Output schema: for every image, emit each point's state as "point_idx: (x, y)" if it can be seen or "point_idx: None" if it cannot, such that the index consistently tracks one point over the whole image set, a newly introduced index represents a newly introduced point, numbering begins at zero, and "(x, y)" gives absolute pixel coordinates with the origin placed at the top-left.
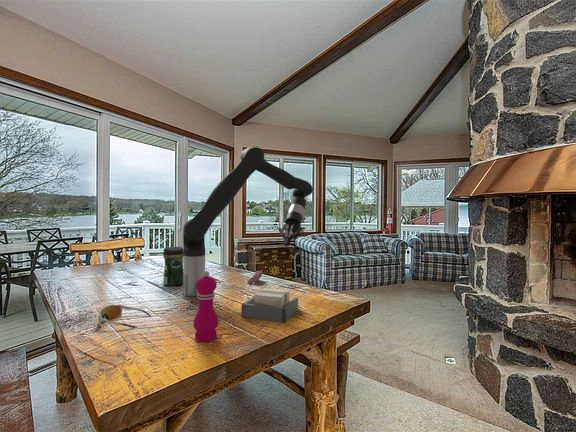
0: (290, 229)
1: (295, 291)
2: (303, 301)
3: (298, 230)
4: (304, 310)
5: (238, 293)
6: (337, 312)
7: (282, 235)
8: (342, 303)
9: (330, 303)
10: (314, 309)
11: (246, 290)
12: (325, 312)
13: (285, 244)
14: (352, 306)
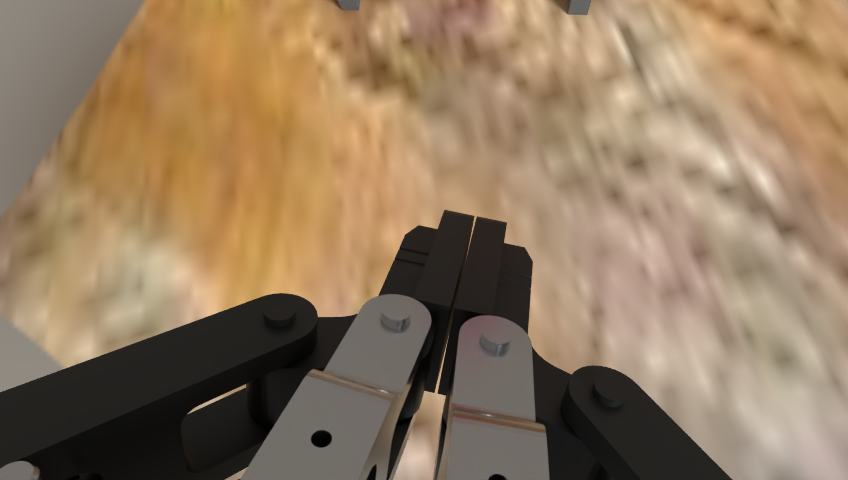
0: (338, 475)
1: None
2: (333, 157)
3: (51, 404)
4: (304, 2)
5: (840, 209)
6: (138, 26)
7: (611, 385)
8: (108, 187)
9: (174, 166)
10: (254, 34)
11: (820, 310)
12: (196, 7)
13: (473, 219)
14: (58, 147)
